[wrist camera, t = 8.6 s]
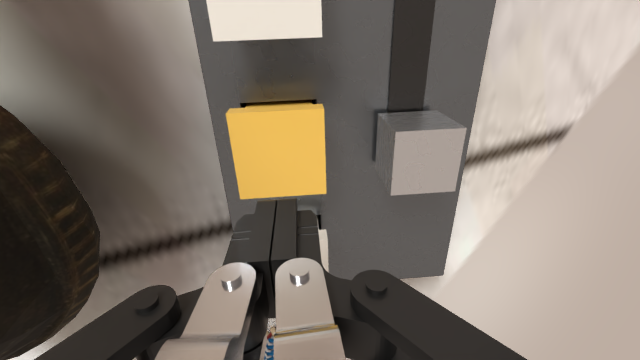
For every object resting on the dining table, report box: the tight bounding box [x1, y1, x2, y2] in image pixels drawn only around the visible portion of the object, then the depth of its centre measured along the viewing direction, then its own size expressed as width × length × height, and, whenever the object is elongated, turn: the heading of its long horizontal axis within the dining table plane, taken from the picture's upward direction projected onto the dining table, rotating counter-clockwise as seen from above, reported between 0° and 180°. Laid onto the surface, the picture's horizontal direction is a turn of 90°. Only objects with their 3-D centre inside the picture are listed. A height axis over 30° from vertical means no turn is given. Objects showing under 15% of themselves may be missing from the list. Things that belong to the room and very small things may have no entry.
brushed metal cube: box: [375, 110, 467, 196], centre depth 20 cm, size 4×4×4 cm
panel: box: [188, 0, 496, 280], centre depth 23 cm, size 18×28×4 cm, turn 2°
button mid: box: [226, 99, 326, 199], centre depth 21 cm, size 5×5×6 cm
